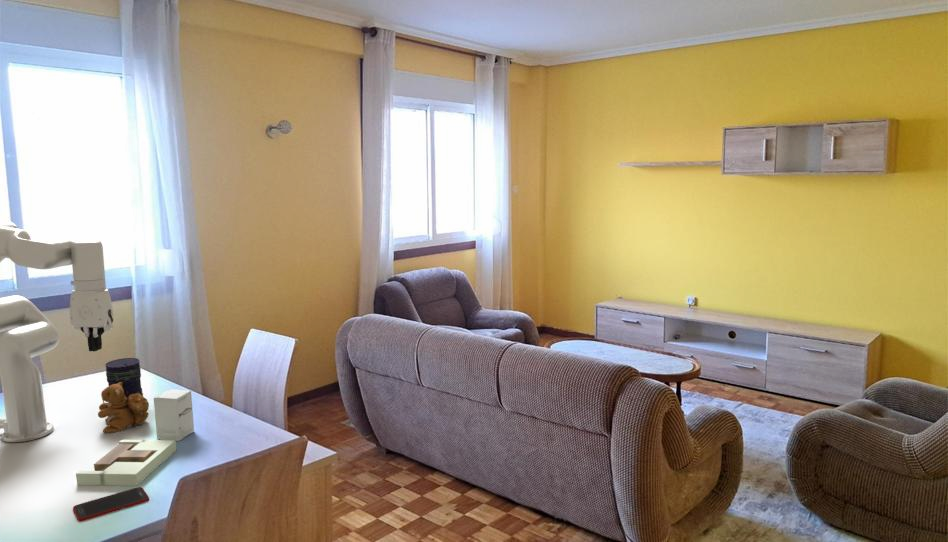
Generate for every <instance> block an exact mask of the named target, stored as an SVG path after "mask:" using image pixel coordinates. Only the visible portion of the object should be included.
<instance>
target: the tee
mask: <svg viewBox="0 0 948 542" xmlns="http://www.w3.org/2000/svg"><path fill="white" fill-rule="evenodd" d="M133 447H134V444H119V443H118V444H117V445H116V446H115V447H114V448H112V449H111V450H110V451H108V452H107V453H106V454H105V455H104V456H102V457H101V458H99V460H97V461H96V462H95V463H94V464H93V468H94V470H93V471H104V470H105V469H107V468H108V467H109V466H110V465H112V464H113V463H114V462H145V461H146V460H147V459H148V458H149V457H151V456H152V455H153V450H131V449H132V448H133Z"/></svg>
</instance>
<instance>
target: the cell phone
mask: <svg viewBox="0 0 948 542" xmlns="http://www.w3.org/2000/svg"><path fill="white" fill-rule="evenodd" d="M149 501H150V498H149V495H148V494H147V492H146V491H145V490H144V489H143V487H141V486H139V487H137V486H136V487H134V488H130V489H127V490H124V491H121V492H116V493H113V494H109V495H106V496H103V497H99V498H96V499H92V500H90V501H89V500H88V501H85V502H82V503H78V504H76V505H73V507H72V511H73V514H74V515H75V518H76V520H77V521H78V522H83V521H87V520H91V519H94V518H97V517H101V516H104V515H107V514H110V513H113V512H117V511H120V510H123V509H126V508H130V507H133V506H136V505H137V506H138V505H141V504H144V503H147V502H149Z"/></svg>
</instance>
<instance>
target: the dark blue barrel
mask: <svg viewBox="0 0 948 542" xmlns="http://www.w3.org/2000/svg"><path fill="white" fill-rule="evenodd" d="M140 363H141V362H140V359H139V358H136V357H125V358H117V359H114V360H110V361H108V362H106V363H105V376H106V381H107V383H108V385H107V386H110V385H113V384H118V383H119V382H121V383H122V388H123V390H124V395H125V396H126V397H127V398H128V397H129V396H130V395H131V394H136V393H140V394H141V395H142V396H143V397H144V392H143V388H142V382H141V377H142V374H141V373H142V372H141V364H140Z"/></svg>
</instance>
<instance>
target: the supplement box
mask: <svg viewBox="0 0 948 542" xmlns="http://www.w3.org/2000/svg"><path fill="white" fill-rule="evenodd" d="M192 397H193V396H192V390H188V389H187V390H184V389H183V390H182V389H167V390H166V391H164V392H162V393H161V394H159V395H156V396H154V397H153V407H154V419H155V430H156V431H155V432H156V440H159V439H160V440H175V441H176V442H180V441H181V440H183V439H184V438H186V437H187V436H188V435H191V434H192V433H193V432H194V431H195V426H194V425H195V424H194V411H193V399H192Z"/></svg>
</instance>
